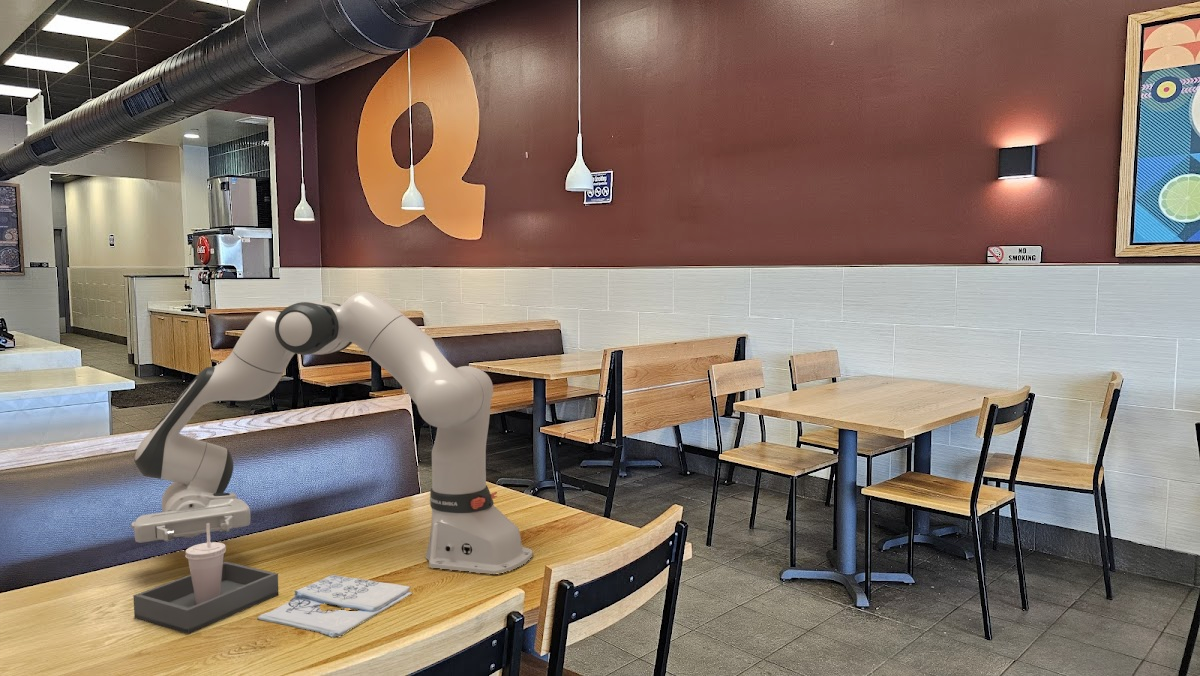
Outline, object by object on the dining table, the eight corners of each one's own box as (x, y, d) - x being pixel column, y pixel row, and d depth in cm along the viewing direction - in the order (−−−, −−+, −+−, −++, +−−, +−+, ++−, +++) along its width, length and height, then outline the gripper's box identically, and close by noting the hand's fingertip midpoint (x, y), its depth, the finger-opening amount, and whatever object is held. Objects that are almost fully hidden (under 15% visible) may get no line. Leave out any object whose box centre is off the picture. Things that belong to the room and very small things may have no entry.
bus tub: (278, 594, 144) (277, 573, 143) (188, 634, 128) (187, 610, 127) (226, 581, 150) (225, 561, 150) (134, 618, 134) (133, 595, 134)
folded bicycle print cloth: (414, 596, 144) (414, 585, 144) (336, 643, 126) (335, 630, 125) (334, 581, 152) (334, 570, 152) (249, 622, 133) (248, 610, 133)
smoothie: (220, 607, 136) (216, 528, 135) (181, 609, 135) (177, 530, 134) (233, 593, 142) (230, 517, 141) (196, 595, 142) (192, 519, 141)
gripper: (129, 507, 154) (133, 525, 142) (243, 491, 165) (254, 507, 153) (131, 538, 154) (134, 559, 143) (244, 520, 165) (255, 538, 154)
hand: (197, 532), depth 148 cm, fingers open, 8 cm apart
